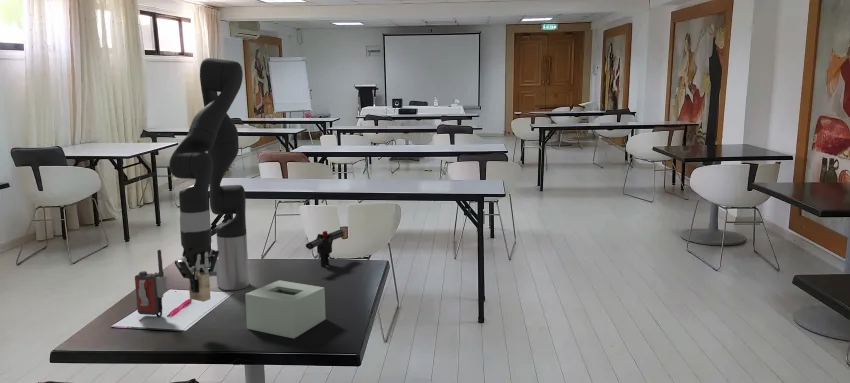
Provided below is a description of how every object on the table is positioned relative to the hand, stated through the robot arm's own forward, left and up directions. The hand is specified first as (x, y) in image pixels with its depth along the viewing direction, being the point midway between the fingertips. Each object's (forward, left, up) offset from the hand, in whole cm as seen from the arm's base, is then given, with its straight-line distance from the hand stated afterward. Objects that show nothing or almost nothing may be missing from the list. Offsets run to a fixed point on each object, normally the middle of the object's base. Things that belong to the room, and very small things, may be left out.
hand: (199, 290), depth 168 cm
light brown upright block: (0, 0, -2) cm, 2 cm away
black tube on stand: (-4, +62, -12) cm, 63 cm away
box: (+17, +14, -12) cm, 25 cm away
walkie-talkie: (-22, +2, -12) cm, 25 cm away
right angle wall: (-41, +45, -12) cm, 62 cm away
